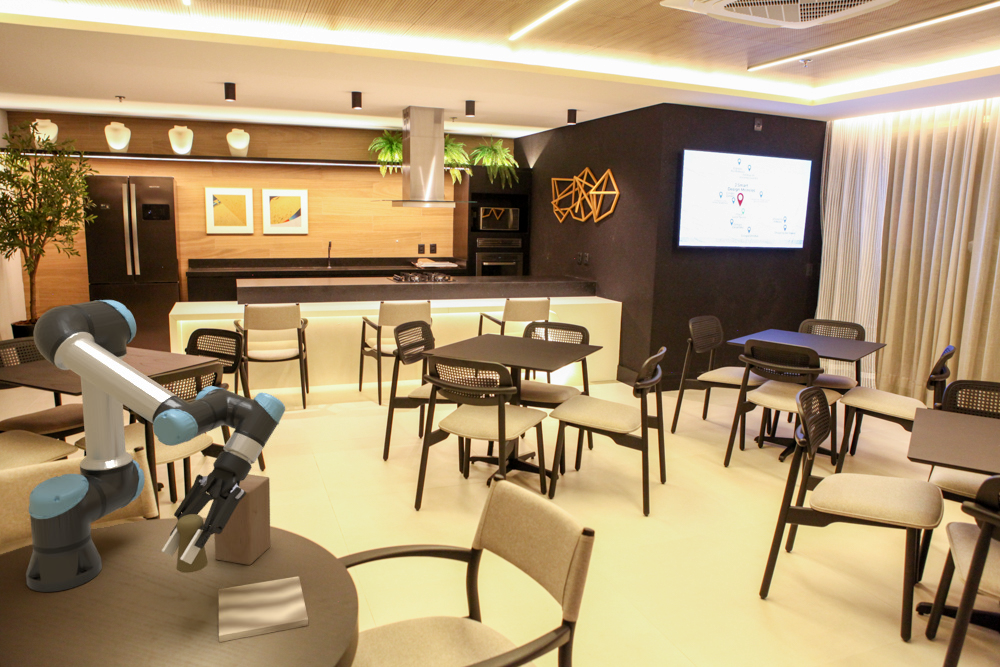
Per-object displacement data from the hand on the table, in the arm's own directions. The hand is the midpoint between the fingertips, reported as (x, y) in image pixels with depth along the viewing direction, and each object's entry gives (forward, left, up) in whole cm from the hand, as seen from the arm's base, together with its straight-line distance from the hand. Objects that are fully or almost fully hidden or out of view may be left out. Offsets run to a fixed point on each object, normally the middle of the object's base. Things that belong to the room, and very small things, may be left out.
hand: (176, 557), depth 137 cm
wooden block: (-30, +14, -18) cm, 38 cm away
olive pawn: (-2, +3, -4) cm, 5 cm away
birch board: (-3, +17, -18) cm, 24 cm away
